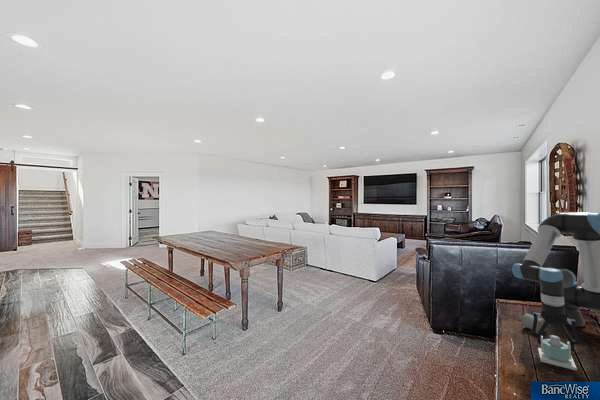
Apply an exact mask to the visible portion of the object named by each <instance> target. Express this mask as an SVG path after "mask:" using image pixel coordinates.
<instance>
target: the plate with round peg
mask: <svg viewBox="0 0 600 400" xmlns="http://www.w3.org/2000/svg"><path fill="white" fill-rule="evenodd" d="M549 339H550V344H551V345H552V346H557V347H560V342H561V338H560V337H559V336H556V335H553V334H552V335H551V334H550V335H549ZM537 351H538V355H539V358H540V359H539V360H540V362H542V363H545V364H549V365H553V366H557V367H562V368H564V369H568V370H573V371H576V372H578V371H577V370H578V368H577V366H576V364H575V361H574V358H573V357H572V355H571V360H570V359H569V360H566V361H561V360H557V359H554V358H551V357H549V356H547V355H545V354H544V353H543V352H541V347H537Z"/></svg>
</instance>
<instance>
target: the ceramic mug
mask: <svg viewBox="0 0 600 400" xmlns="http://www.w3.org/2000/svg"><path fill="white" fill-rule="evenodd" d="M521 319H522V320H521V323H522V326H523V328H525V329H526V328H527V329H529V330H531V331H532V326H533V321H534V316H533V314H530V313H525V314H523V316H522V318H521ZM543 322H544V319H543V318H538V321H537V327H536V332H538V331H539V329H540V327H541V326H542V324H543ZM546 330H547V328H546V329H545V330H544V332H543V333H545V332H546Z"/></svg>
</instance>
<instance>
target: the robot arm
mask: <svg viewBox="0 0 600 400" xmlns="http://www.w3.org/2000/svg"><path fill="white" fill-rule="evenodd" d="M562 234H567V235H572V237H573V238H572V239H573V240H574V241H577V244H578V251H579V259H580V263H581V264H580V265H581V269H582V276H583V282H582V283H580V285H579V282H577V276H576V275H575V273H574V272H572V271H571V270H569V269H567V268H555V267H544V266H543V265H544V263H545V261H546V259H547V257H548V255H549V253H550V251H551V250H552V247H553V246H554V243H555V242H556V239H558V238H560V237H561V235H562ZM511 267H512V268H511V270H512V274H513V276H514V277H515V278H517V279H521V280H527V281H532V282H537V283H539V285H540V286H539V287H540V301H541V302H540V303H541V307H540V308H541V312H536V311H533V313H532V315H533V316H534V321H533V326H532V330H531V334H532V335H534V336H536V340H537V341H536V342H537V344H540V346H541V347H540V348H541V352H543V353H544V350H543V339H544V336H543V333H545V332H544V330H545V329H546V330H547V327H548V326H549V325H554V326H557V327H559V328H560V329H561V331H562V332H563V334H564V335H565V338H567V345H568V348H569V359H570V360H571V356H572V353H574V352H575V350H576V349H575V345H578V346H579V345H581V341H580V338H579V334H578V332H577V329H576V328H580V327H581V328H583V327H585V326H586V322H585V319H584V318H583V316H582V312H581V311H580V308H582V309H587V310H589V311H590V310H591V311H595V312H598V313H600V213H599V212H559V213H554V214H552V215H550V216H548V217H547V218H545V219H543V221H542V222H541V223H540V224H539V225H538V227H537V234H536V236H535V238H534V240H533V241H532V244H531V245H530V247H529V249H528V251H527V252H526V255H525V257H524V258H523V261H522V262H521V263H513V265H512V266H511ZM540 317H542V320H544V322H543V324H542V326H541V327H540V329H539V331H538V332H537V331H536V327H537V321H538V318H540ZM540 319H541V318H540ZM565 326H567V327H571V331H572V333H573V337H574V339H573V338H572V335H570V333H569V332H568V330H567V328H566V327H565ZM546 330H545V331H546Z"/></svg>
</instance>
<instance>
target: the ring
mask: <svg viewBox="0 0 600 400" xmlns="http://www.w3.org/2000/svg"><path fill="white" fill-rule="evenodd" d="M543 350H544V354H545V355H547V356H549V357H551V358H554V359H557V360H561V361H566V360H569V348H568V344H565V343H564V342H562V341H560V347H557V346H552V345H551V344H550V338H545V339H544V338H543Z"/></svg>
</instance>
